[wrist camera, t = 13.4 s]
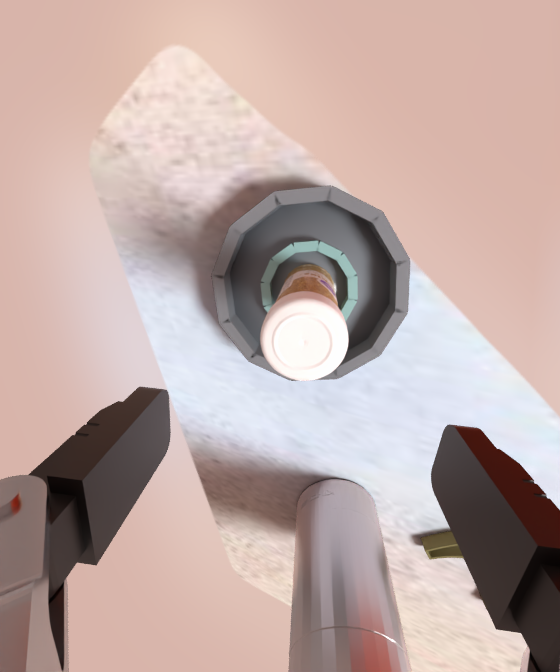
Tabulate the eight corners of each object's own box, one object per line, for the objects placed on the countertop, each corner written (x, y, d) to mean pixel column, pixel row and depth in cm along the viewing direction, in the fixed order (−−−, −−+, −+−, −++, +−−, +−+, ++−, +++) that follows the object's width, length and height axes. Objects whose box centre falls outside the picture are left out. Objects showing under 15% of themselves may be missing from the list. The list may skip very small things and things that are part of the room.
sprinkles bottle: (344, 281, 28) (368, 331, 16) (315, 322, 30) (316, 398, 17) (300, 252, 28) (288, 281, 15) (273, 296, 29) (242, 355, 17)
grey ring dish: (431, 310, 29) (444, 319, 26) (287, 392, 33) (284, 408, 31) (338, 147, 25) (341, 138, 23) (188, 263, 30) (175, 268, 27)
